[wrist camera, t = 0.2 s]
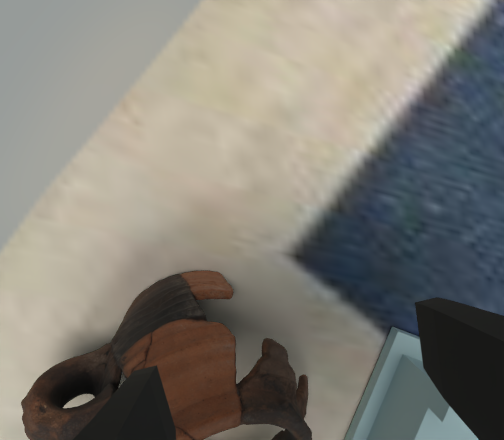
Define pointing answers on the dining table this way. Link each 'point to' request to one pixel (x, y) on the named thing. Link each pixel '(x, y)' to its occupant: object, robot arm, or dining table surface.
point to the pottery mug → (174, 370)
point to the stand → (404, 399)
